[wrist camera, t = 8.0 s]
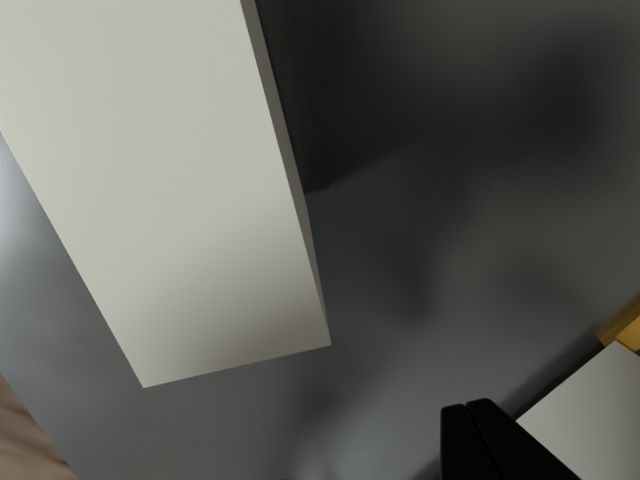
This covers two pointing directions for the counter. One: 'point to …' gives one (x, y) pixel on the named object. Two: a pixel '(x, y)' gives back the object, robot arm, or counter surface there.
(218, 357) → the off-white long bar
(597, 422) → the white rectangular block
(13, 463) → the counter surface
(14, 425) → the counter surface
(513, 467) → the robot arm
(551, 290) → the levelling base
